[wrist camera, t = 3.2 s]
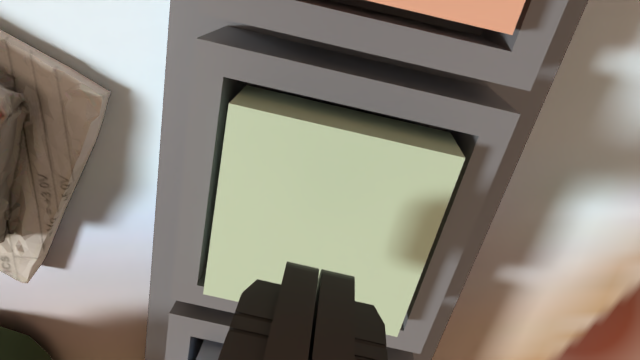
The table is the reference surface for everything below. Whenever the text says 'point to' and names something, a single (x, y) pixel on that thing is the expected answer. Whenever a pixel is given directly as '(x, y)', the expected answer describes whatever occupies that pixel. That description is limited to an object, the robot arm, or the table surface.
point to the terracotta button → (467, 11)
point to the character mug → (20, 347)
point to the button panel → (352, 93)
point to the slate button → (209, 350)
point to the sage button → (328, 198)
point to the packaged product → (40, 149)
